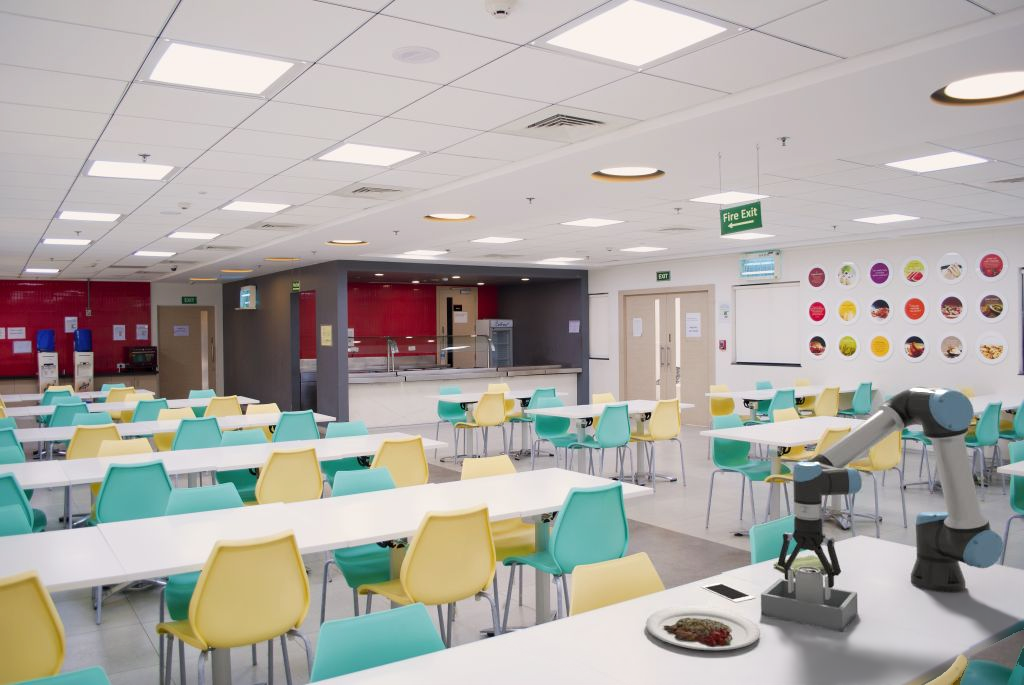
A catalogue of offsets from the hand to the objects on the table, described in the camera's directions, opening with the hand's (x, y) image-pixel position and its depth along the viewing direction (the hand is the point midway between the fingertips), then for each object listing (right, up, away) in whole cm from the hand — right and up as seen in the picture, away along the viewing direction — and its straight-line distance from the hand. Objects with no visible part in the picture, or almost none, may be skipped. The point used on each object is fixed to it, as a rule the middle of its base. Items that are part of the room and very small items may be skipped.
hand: (809, 594), depth 215 cm
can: (0, -5, 0) cm, 5 cm away
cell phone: (-18, -6, +19) cm, 27 cm away
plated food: (-34, -7, -11) cm, 36 cm away
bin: (0, -6, 0) cm, 6 cm away
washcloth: (+15, -6, +41) cm, 44 cm away
